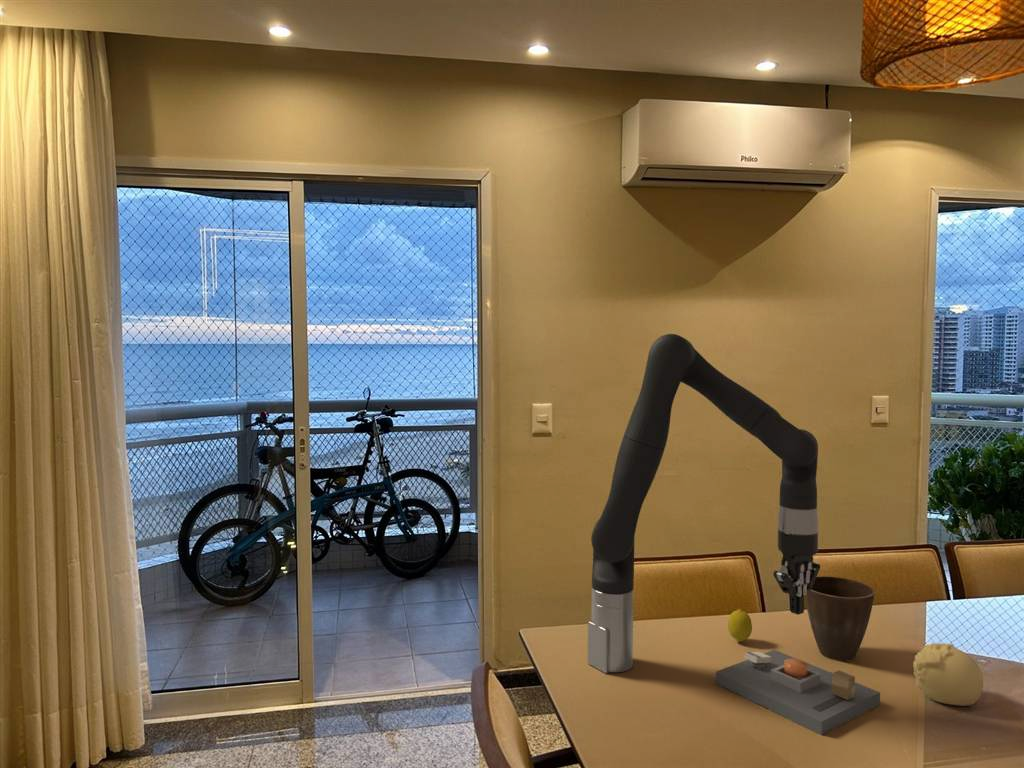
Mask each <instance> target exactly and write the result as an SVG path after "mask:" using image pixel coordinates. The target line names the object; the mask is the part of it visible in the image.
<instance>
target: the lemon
mask: <svg viewBox="0 0 1024 768" xmlns="http://www.w3.org/2000/svg"><path fill="white" fill-rule="evenodd" d="M727 629H728V632H729V635H730V636H731V637H732V638H733V639H735V640H736V641H737V643H742V642H743V641H745V640H747V639H749V638H750V636H751V634H752V630H753V623H752V619H751V617H750V615H749V614H748V613H747V612H746V611H744V610H742V609H741V608H738V609H736V610H734V611H733V612H731V614H730V615H729V617H728V621H727Z"/></svg>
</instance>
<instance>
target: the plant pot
mask: <svg viewBox="0 0 1024 768" xmlns="http://www.w3.org/2000/svg"><path fill="white" fill-rule="evenodd" d="M875 593H876V592H875V590H874V588H873V587H872V586H870V585H868V584H866V583H864V582H861V581H858V580H854V579H850V578H845V577H837V576H817V577H816V579H815V582H814V584H813V586H812V589H811V590H810V591H809V590H807V593H806V595H804V601H805V603H806V611H807V615H808V618H809V619H808V620H809V624H810V626H811V630H812V633H813V636H814V640H815V643H816V645H817V648H818V652H819V653H820V654H821V655H822V656H823V657H825V658H828V659H831V660H833V659H834V660H835V661H839V660H840V662H848V661H847V660H849V661H852V659H853V660H854V659H855V658H856V656H857V654H858V652H859V650H860V647H861V644H862V642H863V640H864V638H865V635H866V631H867V629H868V625H869V623H870V622H869V621H870V618H871V615H872V609H873V604H874V599H875Z"/></svg>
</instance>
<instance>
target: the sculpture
mask: <svg viewBox="0 0 1024 768" xmlns="http://www.w3.org/2000/svg"><path fill="white" fill-rule="evenodd" d="M912 664H913V665H912V667H913V675H914V676H915V681H916V684H917V687H918V688H919V689H920V690H921V691H922V692H923V693H924V695H925V696H927V698H929V699H930V700H932V701H934V702H936V703H937V702H938V703H942V704H946V705H952V706H962V707H964V706H967V707H968V706H972V705H974V704H975V703H976V702H977V701H979V699H980V697H981V695H982V693H983V690H984V689H983V687H984V677H983V672H982V670H981V668H980V666H979V665H978V663H977V662H976V660H975V659H974V658H973V657H972V656H971V655H970V654H968V653H966V652H965V651H963V650H961V649H958V648H956V646H954V644H952V643H932V642H931V643H930V644H925V645H924V647H923V648H922V649H921V650H920V651H918V652H917V654H916V655H914V661H913V663H912Z"/></svg>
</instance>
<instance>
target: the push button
mask: <svg viewBox="0 0 1024 768" xmlns="http://www.w3.org/2000/svg"><path fill="white" fill-rule="evenodd" d="M805 662H806V661H803V660H801V659H799V660H798V658H796V659H786V660H785V661H784V673H785V674H787V675H789V676H791V677H795V678H804V677H806V676H807V663H808V662H806V663H805Z"/></svg>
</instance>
